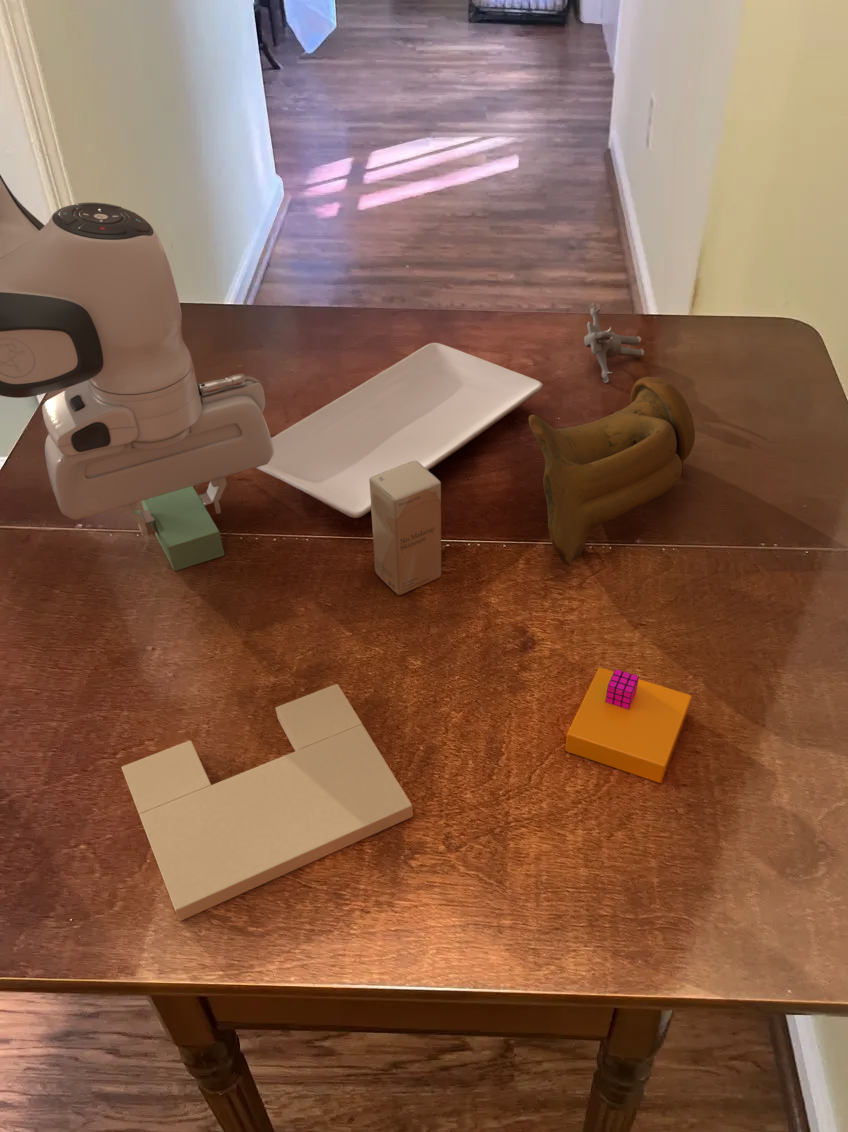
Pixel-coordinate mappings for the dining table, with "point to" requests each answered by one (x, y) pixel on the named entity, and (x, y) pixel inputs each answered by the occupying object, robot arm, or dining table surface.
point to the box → (406, 526)
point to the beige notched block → (265, 805)
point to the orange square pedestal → (628, 724)
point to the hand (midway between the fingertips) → (180, 521)
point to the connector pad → (184, 528)
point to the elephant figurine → (608, 343)
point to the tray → (395, 424)
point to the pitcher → (612, 462)
